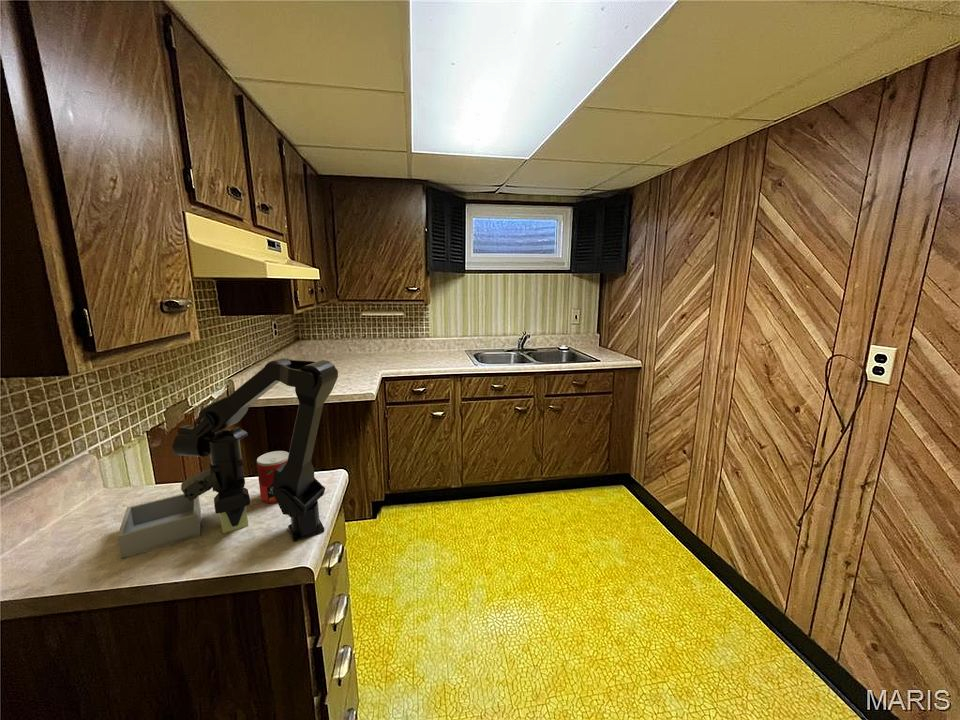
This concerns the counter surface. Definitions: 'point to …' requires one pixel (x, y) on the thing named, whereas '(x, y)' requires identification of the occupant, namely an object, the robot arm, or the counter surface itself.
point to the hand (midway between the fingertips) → (234, 520)
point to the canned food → (269, 472)
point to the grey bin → (158, 524)
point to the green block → (227, 524)
